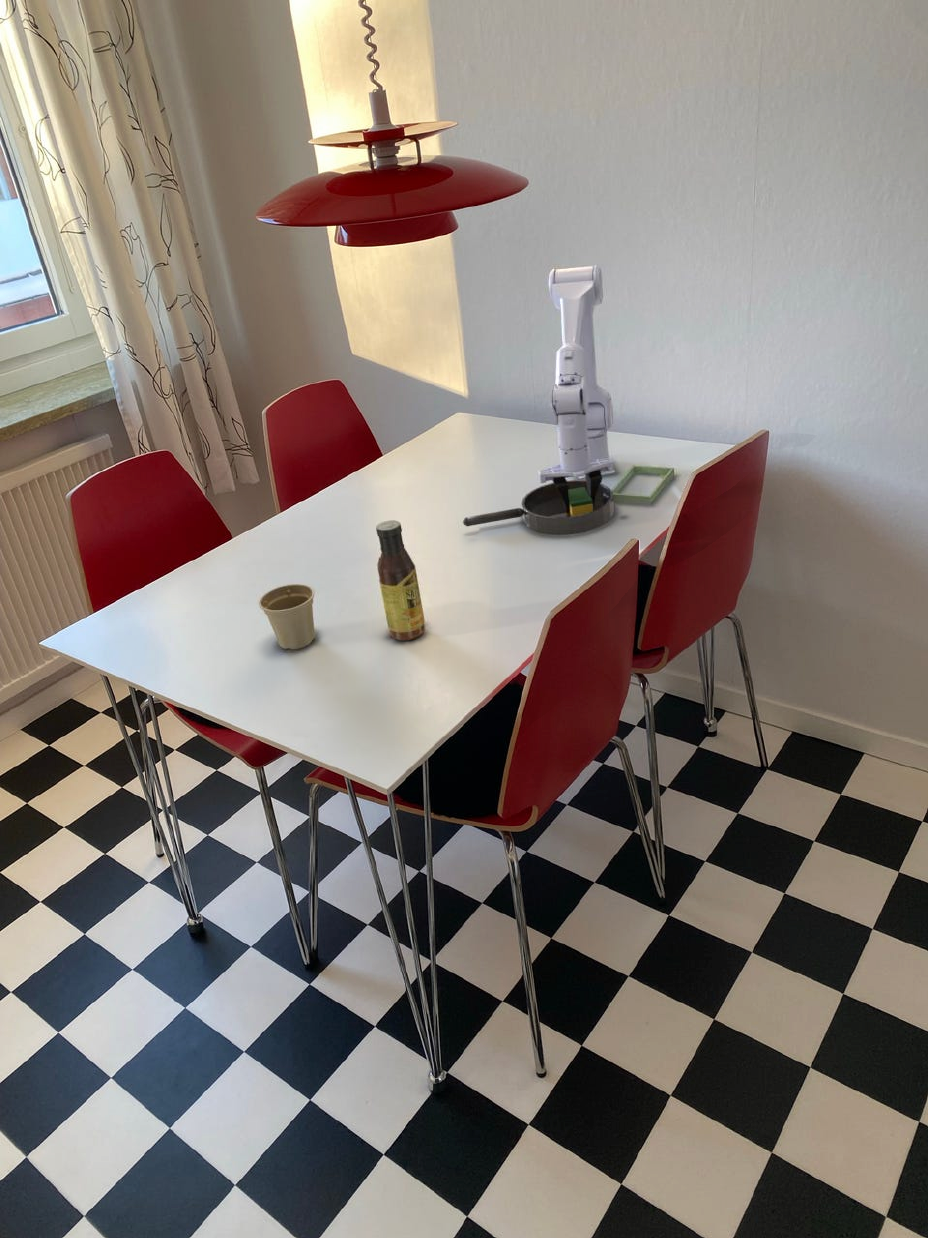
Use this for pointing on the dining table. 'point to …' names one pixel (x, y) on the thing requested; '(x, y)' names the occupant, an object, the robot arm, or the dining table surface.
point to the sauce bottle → (399, 584)
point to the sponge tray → (662, 471)
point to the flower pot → (290, 614)
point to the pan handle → (493, 517)
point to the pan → (550, 515)
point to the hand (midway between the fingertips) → (579, 509)
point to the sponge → (579, 501)
